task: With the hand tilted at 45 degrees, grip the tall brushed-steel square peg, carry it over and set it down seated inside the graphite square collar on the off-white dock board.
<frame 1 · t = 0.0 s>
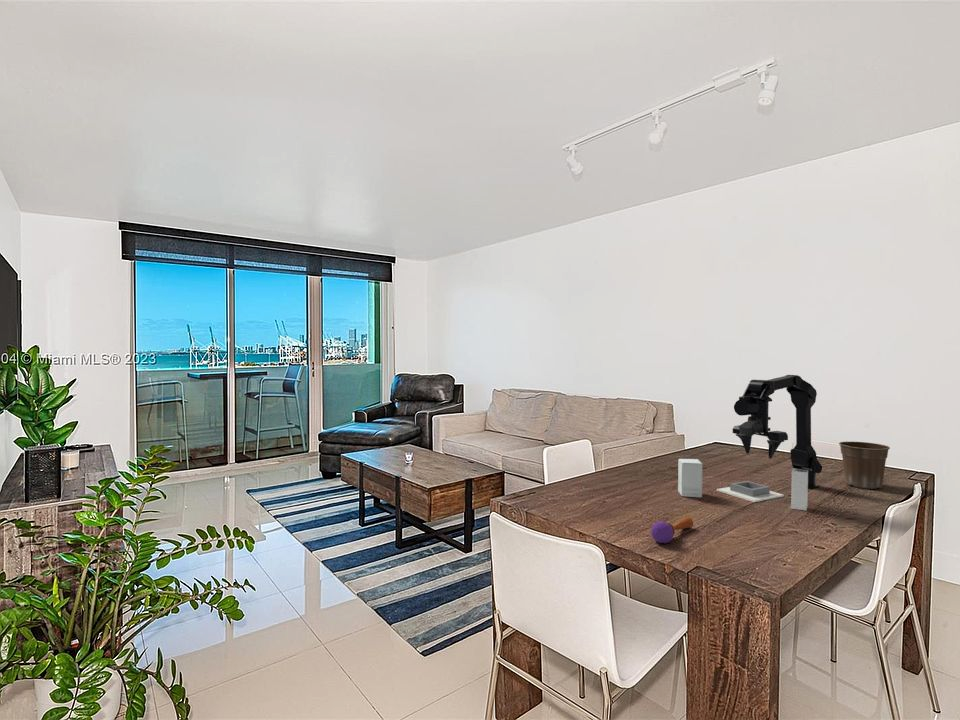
hand: (758, 455, 193), 15 cm above the table, fingers open, 9 cm apart
plant pot: (862, 485, 207), on the table
kendama: (673, 536, 154), on the table
supplement box: (689, 494, 196), on the table
square peg: (799, 507, 179), on the table
dock board: (749, 495, 197), on the table
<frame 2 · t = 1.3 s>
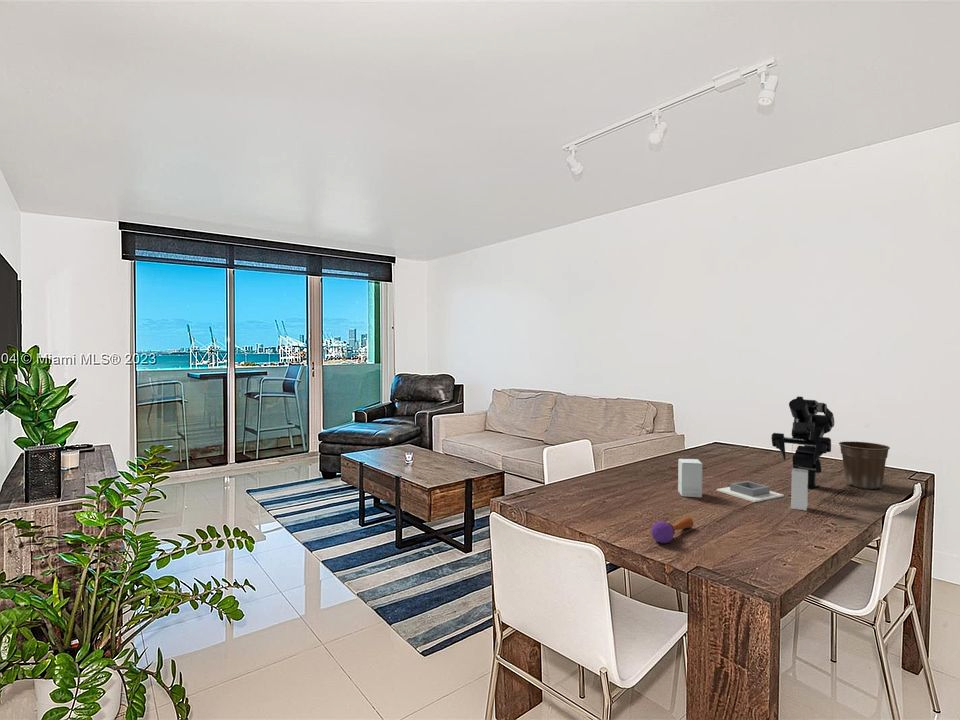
hand: (799, 461, 190), 14 cm above the table, fingers open, 9 cm apart
nothing on the table moved.
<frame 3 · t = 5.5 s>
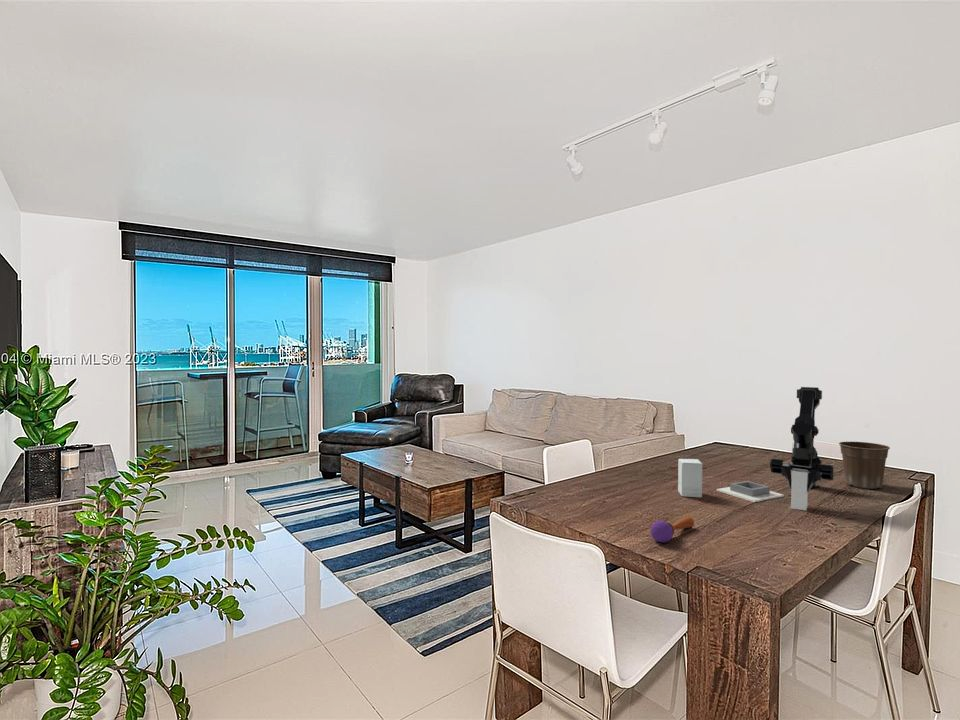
hand: (799, 489, 178), 7 cm above the table, fingers closed on square peg, 4 cm apart
square peg: (799, 507, 179), on the table, touching gripper
everything else where it was.
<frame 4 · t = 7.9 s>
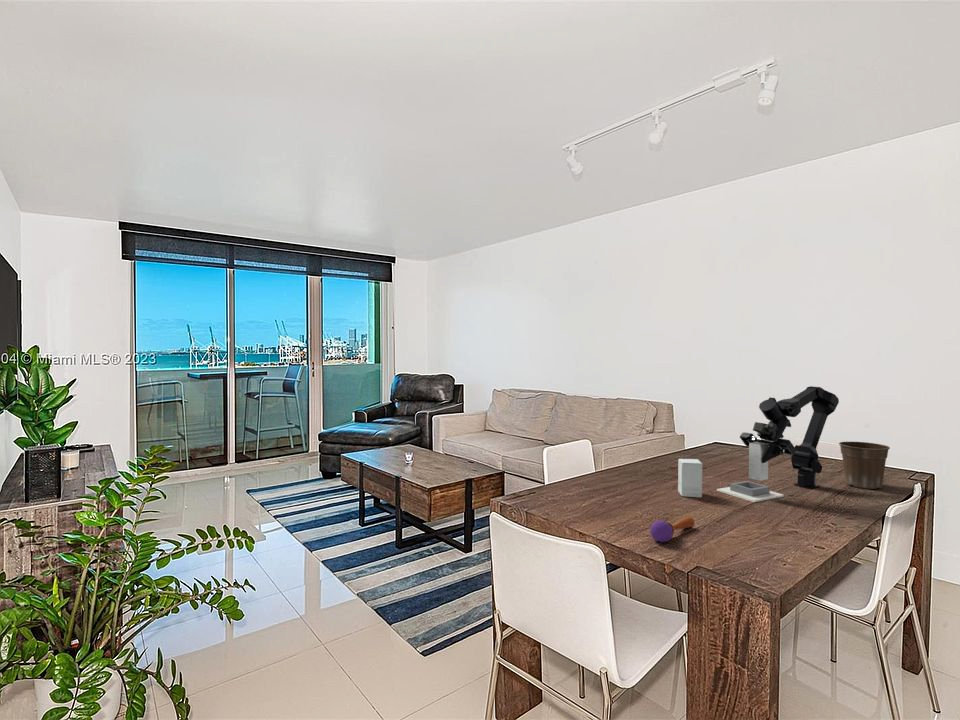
hand: (756, 461, 191), 13 cm above the table, fingers closed on square peg, 4 cm apart
square peg: (758, 478, 192), point 7 cm above the table, touching gripper
everything else where it was.
when the fingers open (9 cm above the table, at t = 10.4 s): square peg drops 2 cm, resting on dock board.
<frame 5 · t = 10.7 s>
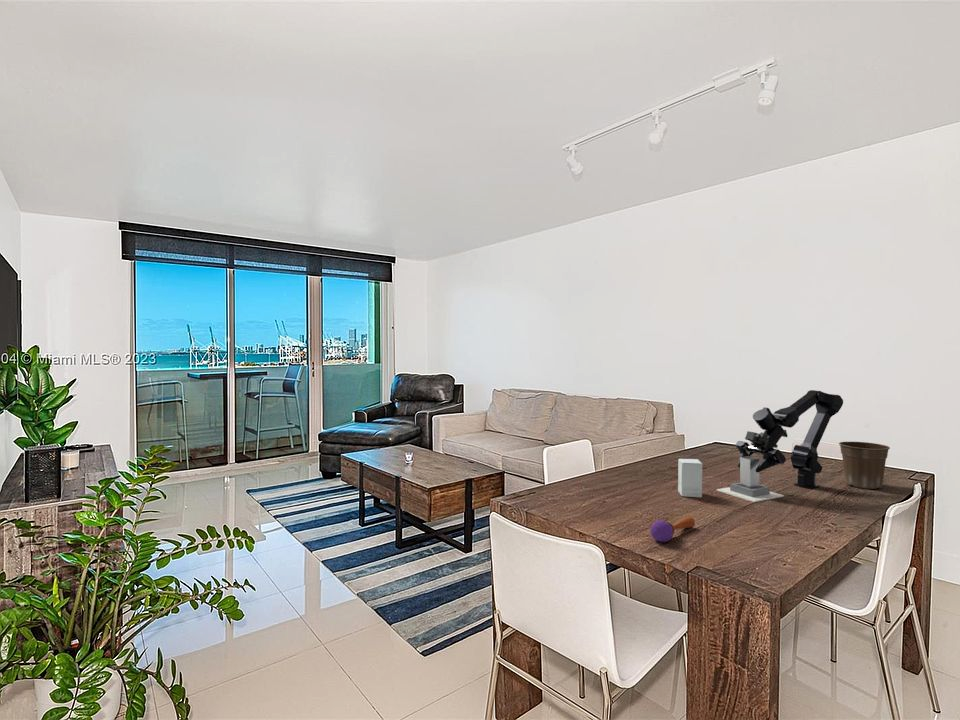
hand: (747, 469, 196), 9 cm above the table, fingers open, 8 cm apart
square peg: (749, 492, 196), resting on dock board
dock board: (749, 495, 197), on the table, touching square peg
everything else where it was.
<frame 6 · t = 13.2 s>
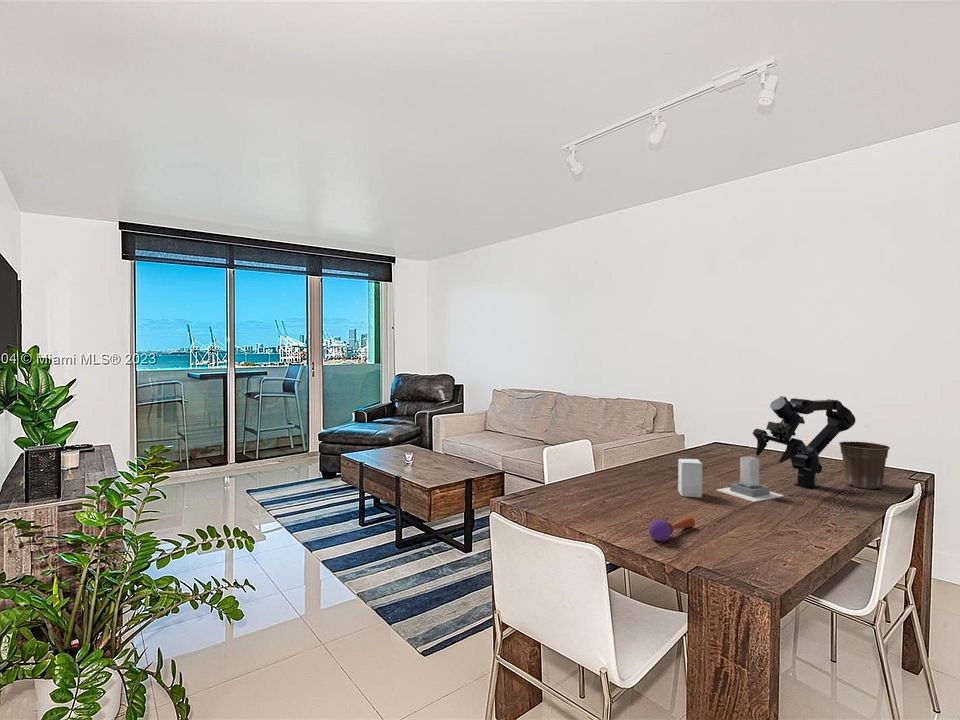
hand: (768, 458, 198), 13 cm above the table, fingers open, 9 cm apart
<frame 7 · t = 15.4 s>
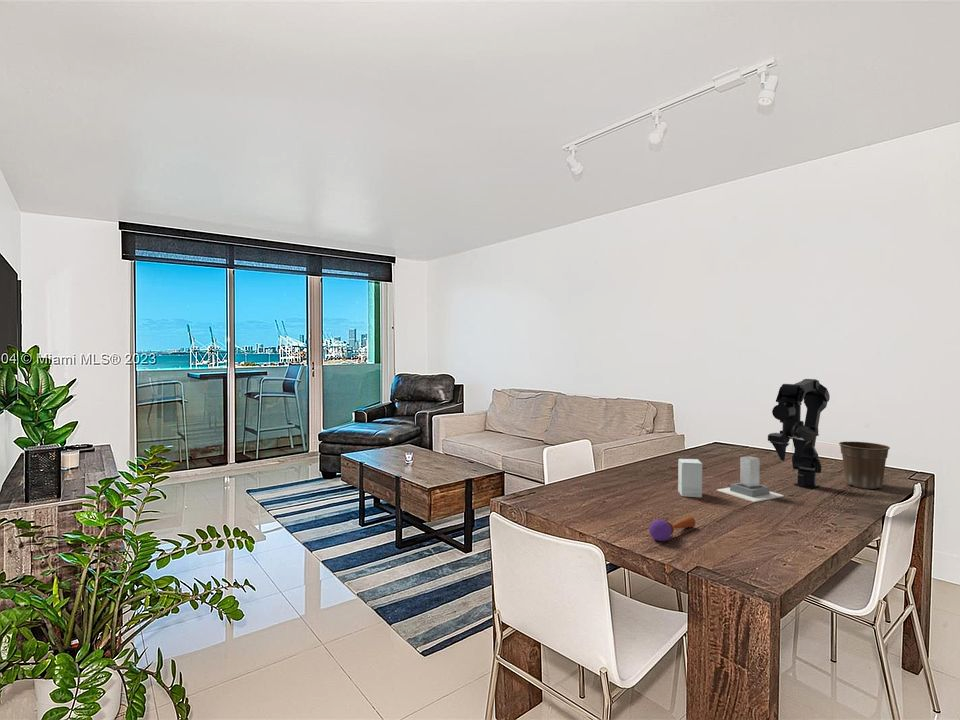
hand: (790, 459, 195), 13 cm above the table, fingers open, 9 cm apart
at the end: square peg 0.0 cm off-centre on the dock board, point 1.2 cm above the dock board's base; square peg tilted 0°; dock board moved 0.8 cm from its start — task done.
